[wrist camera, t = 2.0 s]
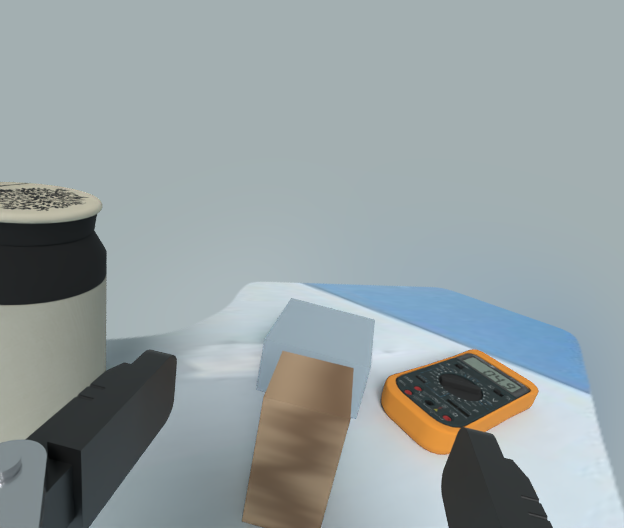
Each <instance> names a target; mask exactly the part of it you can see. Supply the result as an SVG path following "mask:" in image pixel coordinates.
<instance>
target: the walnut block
mask: <svg viewBox="0 0 624 528" xmlns="http://www.w3.org/2000/svg"><path fill="white" fill-rule="evenodd" d="M353 372H354V368H351V367H347V366H343V365H339V364H335V363H331V362H327V361H323V360H319V359H315V358H311V357H306V356H302V355H298V354H294V353H290V352H286V351H282V354H281V356H280V358H279V361H278V363H277V366H276V368H275V370H274V373H273V375H272V378H271V380H270V383H269V385H268V387H267V390H266V392H265V395H264V398H263V403H262V409H261V415H260V420H259V426H258V432H257V437H256V443H255V449H254V455H253V460H252V466H251V472H250V477H249V483H248V489H247V494H246V500H245V506H244V512H243V517H242V522H246V523H249V524H253V525H257V526H260V527H264V528H321V524H322V521H323V517H324V513H325V510H326V506H327V502H328V499H329V495H330V492H331V488H332V484H333V481H334V477H335V473H336V470H337V466H338V463H339V459H340V455H341V452H342V448H343V444H344V441H345V437H346V434H347V430H348V426H349V423H350V418H351V403H352V387H353Z"/></svg>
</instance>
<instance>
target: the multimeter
mask: <svg viewBox="0 0 624 528" xmlns="http://www.w3.org/2000/svg"><path fill="white" fill-rule="evenodd" d="M538 392H539V391H538V388H537V387H536V386H535V385H534V384H533V383H532V382H531V381H529V380H528V379H526V378H524V377H523V376H521V375H519V374H518V373H516V372H514V371H513V370H511V369H510V368H508V367H506V366H505V365H503V364H501V363H500V362H498V361H496V360H495V359H493V358H492V357H490V356H488V355H487V354H485V353H483V352H481V351H479V350H468V351H466V352H463V353H460V354H458V355H455V356H453V357H450V358H446V359H443V360H440V361H437V362H434V363H431V364H428V365H425V366H421V367H418V368H415V369H411V370H408V371H404V372H401V373H397V374H394V375H391V376H389V377H388V378H387V380H386V382H385V385H384V388H383V392H382V397H381V404H382V406H383V408H384V410H385V412H386V414H387V415H388V416H389V417H390V418H391V419H392V420H393V421H394V422H395V423H396V424H397V425H398V426H399V427H400V428H401V429H403V430H404V431H405V432H406V433H407V434H408V435H409V436H410V437H411V438H412V439H413V440H414V441H415V442H416V443H417V444H419V445H420V446H421V447H423V448H424V449H426V450H428V451H430V452H432V453H436V454H449V453H450V452H451V449H452V446H453V444H454V441H455V438H456V436H457V433H458V431H459V429H460V428H461V427H466V428H470V429H474V430H478V431H482V432H486V431H488V430H489V429H491V428H493V427H495V426H496V425H498V424H500V423H502V422H503V421H505V420H507V419H509V418H510V417H512V416H514V415H516V414H518V413H520V412H523V411H525V410H527V409H529V408H530V407H531V406H532V404H533V402H534V400H535V398H536V396H537V394H538Z"/></svg>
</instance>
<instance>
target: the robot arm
mask: <svg viewBox="0 0 624 528" xmlns="http://www.w3.org/2000/svg"><path fill="white" fill-rule="evenodd" d="M176 365H177V359H176V356H174V355H171V354H167V353H162V352H158V351H154V350H150V349H149V350H147V351H145V352H144V353H143V354H142V355H141V356H140V357H139V358H138V359H136V360H135V361H134V362H133V363H132V364H128V363H122V364H120V365H118V366H116V367H113V368H111V369H109V370H107V371H105V372H104V373H102V374H101V375H100V376H99V377H98V378H97V379H95V380H94V381H93V382H92V383H91V384H90V386H89V387H88V386H87V387H86V388H85V389H84V390H83V391H81V392H80V393H79V394H78V396H77V397H74V398H73V399H72V400H71V401H70V402H68V403H67V404H66V405H65V406H64V407H63V408H61V409H60V410H59V411H58V412H57V413H56V414H54V415H53V416H52V417H51V418H50V419H49V420H47V421H46V422H45V423H44V424H43V425H41V426H40V427H39V428H38V429H37V430H36V431H34V432H33V433H32V434H31V435H30V436H29V437H27V438H26V439H25V440H24V439H21V440H11V441H6V442H2V443H0V528H89V526H90V525H91V524H92V522H93V521H94V519H95V518H96V517H97V515H98V514H99V513H100V511H101V510H102V509H103V507H104V506H105V504H106V503H107V502H108V500H109V499H110V498H111V496H112V495H113V494H114V492H115V491H116V489H117V488H118V487H119V485H120V484H121V483H122V481H123V480H124V479H125V477H126V476H127V474H128V473H129V472H130V470H131V469H132V468H133V466H134V465H135V464H136V462H137V461H138V460H139V458H140V457H141V455H142V454H143V453H144V451H145V450H146V449H147V447H148V446H149V445H150V443H151V442H152V440H153V439H154V438H155V436H156V435H157V434H158V432H159V431H160V430H161V428H162V427H163V425H164V424H165V423H166V421H167V419H168V417H169V415H170V413H171V410H172V407H173V402H174V392H175V379H176ZM441 490H442V498H443V503H444V507H445V512H446V517H447V521H448V526H449V528H553V527H552V525H551V523H550V521H548V520H547V515H546V513H545V511H544V509H543V507H542V505H541V503H539V498H538V496H537V494H536V492H535V490H534V488H533V486H532V484H531V482H530V480H529V478H528V477H527V476H526V475H525V474H524V473H523V472H522V470H521V469H520V468H519V467H518V466H517V465H516V464H515V462H514V461H513V460H511V459H507V458H504V456H503V454H502V452H501V450H500V447H499V445H498V443H497V441H496V438H495V437H494V435H493V434H490V433H486V432H482V431H478V430H474V429H470V428H466V427H461V428H460V429H459V431H458V433H457V436H456V438H455V441H454V444H453V446H452V449H451V452H450V454H449V457H448V459H447V462H446V465H445V467H444V470H443V474H442V483H441Z"/></svg>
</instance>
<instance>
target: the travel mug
mask: <svg viewBox="0 0 624 528" xmlns="http://www.w3.org/2000/svg"><path fill="white" fill-rule="evenodd" d="M101 209H102V203H101V201H100V200H99V199H98V198H97V197H95V196H93V195H91V194H88V193H85V192H82V191H78V190H74V189H70V188H64V187H58V186H52V185H42V184H32V183H15V182H0V443H2V442H6V441H11V440H21V439H24V440H25V439H26V438H27V437H29V436H30V435H31V434H32V433H33V432H34V431H36V430H37V429H38V428H39V427H40V426H41V425H43V424H44V423H45V422H46V421H47V420H49V419H50V418H51V417H52V416H53V415H54V414H56V413H57V412H58V411H59V410H60V409H61V408H63V407H64V406H65V405H66V404H67V403H68V402H70V401H71V400H72V399H73V398H74V397H77V396H78V394H79V393H80V392H81V391H83V390H84V389H85V388H86V387H87V386H88V387H89V386H90V384H91V383H92V382H93V381H94V380H95V379H97V378H98V377H99V376H100V375H101V374H102V373H104V372H105V371H106V249H105V247H104V246H103V244H102V242H101V241H100V239H99V238H98V236H97V234H96V233H95V231H94V228H95V222H96V216H97V213H99V212H100V211H101Z"/></svg>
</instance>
